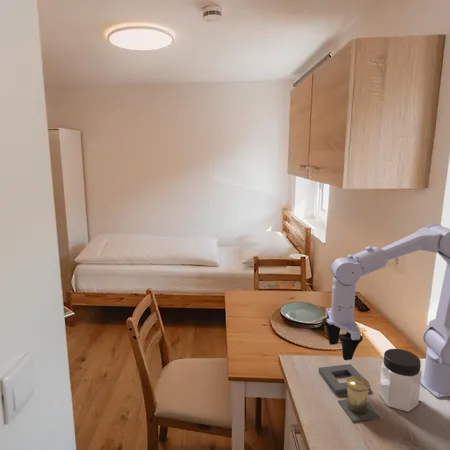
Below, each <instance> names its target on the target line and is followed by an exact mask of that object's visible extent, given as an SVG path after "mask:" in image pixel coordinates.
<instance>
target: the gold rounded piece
mask: <svg viewBox="0 0 450 450" xmlns="http://www.w3.org/2000/svg"><path fill="white" fill-rule="evenodd" d="M345 381H346V383H347V386H348V393H347V394H346V395H347V408H348V409H349V411H351V412H352V413H354V414H358V415H362V414H365V413H366V412H367V402H368V398H369V397H368V396H369V391H368V389H369V384H370V381H368V380H367V379H366V378H365V377H363V376H362V377H360V376H350V377H349V376H348V377H347V378H346V380H345ZM368 403H369V402H368Z"/></svg>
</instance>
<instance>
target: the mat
mask: <svg viewBox="0 0 450 450" xmlns="http://www.w3.org/2000/svg"><path fill="white" fill-rule="evenodd" d="M337 402H338V404H339V405H340V407H341V408H342V409H343V411H344V412H345V413H346V415H347V416H348V418H349V419H350V421H351V422H352V423H358V422H364V421H371V420H377V419H381V416H380V414H378V412H377V411H376V410H375V409H374V408H373V407H372V406H371V404H370V403H369V402H367V412H366V413H365V414H362V415H358V414H354V413H352V412H351V411H349V409H348V408H347V399H340V400H339V399H338V401H337Z"/></svg>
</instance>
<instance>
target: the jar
mask: <svg viewBox="0 0 450 450" xmlns="http://www.w3.org/2000/svg"><path fill="white" fill-rule="evenodd" d="M422 373H423V372H422V370H421V359H420V358H419V357H418V356H417V355H416V354H414V353H413V352H411V351H408V350H405V349H401V348H389V349H387V350H385V351H384V355H383V361H382V362H381V366H380V377H379V378H380V379H379V390H378V391H379V392H378V395H379V396H380V397H381V399H382V400H383V401H384V403H385V404H386V405H387V407H390V408H394V409H396V410H400V411H404V412H410V411H412V410H413V409H414V408H416V406H418V405H419V402H420V401H419V399H420V392H421V390H420V389H421V383H420V382H421V377H422Z"/></svg>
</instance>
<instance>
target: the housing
mask: <svg viewBox="0 0 450 450" xmlns="http://www.w3.org/2000/svg"><path fill="white" fill-rule="evenodd" d="M318 374H319V375H320V377H322V379H323V381H324V382H325V383H326V384H327V387H329V389H330V390H331V391H332V393H333V395H334V396H339V395H347V393H348V386H347V383H346V382H339V381H338V379H337V378H336V376H345V375H347V376H348V377H350V376H360V377H363V376H362V375H361V374H360V373H359V372H358V370H357V369H356V368H355V367H354V366H353V365H352V363H347V364H339V365H331V366H330V365H329V366H322V367H321V366H320V367H318ZM369 391H371V384H370V383H369V389H368V392H369Z"/></svg>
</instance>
